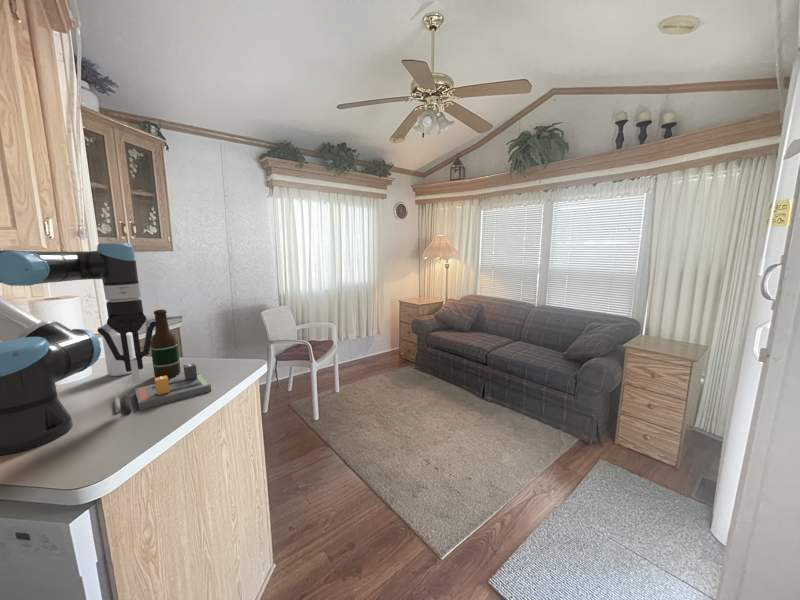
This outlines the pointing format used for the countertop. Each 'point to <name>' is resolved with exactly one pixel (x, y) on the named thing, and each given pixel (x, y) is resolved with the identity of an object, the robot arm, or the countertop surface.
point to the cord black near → (126, 405)
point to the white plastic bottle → (115, 365)
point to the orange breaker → (162, 385)
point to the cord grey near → (117, 405)
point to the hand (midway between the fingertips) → (136, 381)
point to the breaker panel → (171, 391)
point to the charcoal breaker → (190, 371)
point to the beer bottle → (164, 348)
